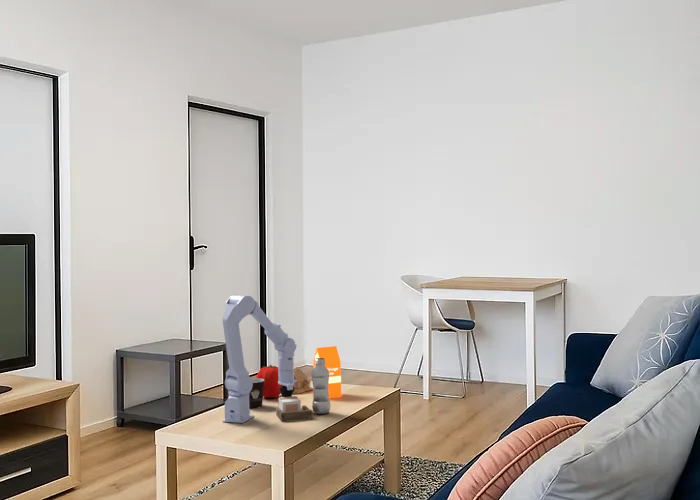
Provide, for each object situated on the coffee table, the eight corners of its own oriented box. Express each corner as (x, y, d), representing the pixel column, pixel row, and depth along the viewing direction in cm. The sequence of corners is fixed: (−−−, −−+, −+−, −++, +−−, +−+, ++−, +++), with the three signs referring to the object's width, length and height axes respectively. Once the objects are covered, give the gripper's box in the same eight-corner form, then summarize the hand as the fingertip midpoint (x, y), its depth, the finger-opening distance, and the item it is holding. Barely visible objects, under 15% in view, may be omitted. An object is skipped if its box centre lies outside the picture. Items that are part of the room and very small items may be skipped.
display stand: (312, 418, 255) (311, 410, 254) (281, 421, 251) (281, 413, 251) (305, 412, 264) (305, 404, 264) (276, 414, 261) (276, 406, 261)
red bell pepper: (281, 393, 298) (280, 361, 297) (287, 399, 286) (287, 366, 286) (253, 395, 294) (252, 363, 294) (259, 402, 282) (258, 368, 282)
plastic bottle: (328, 416, 258) (327, 360, 258) (310, 415, 259) (309, 360, 259) (332, 411, 264) (331, 357, 264) (314, 411, 266) (313, 357, 265)
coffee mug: (267, 404, 279) (266, 378, 279) (262, 409, 270) (261, 382, 270) (237, 403, 280) (237, 378, 280) (232, 409, 271) (231, 382, 271)
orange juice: (313, 395, 292) (312, 346, 291) (333, 393, 295) (332, 344, 295) (321, 399, 285) (320, 349, 284) (341, 397, 288) (340, 347, 288)
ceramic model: (291, 387, 310) (291, 363, 310) (315, 388, 307) (315, 365, 306) (277, 394, 297) (277, 369, 297) (302, 395, 293) (302, 371, 293)
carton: (300, 414, 261) (300, 400, 261) (283, 416, 259) (282, 401, 259) (296, 409, 269) (295, 395, 269) (278, 411, 267) (278, 397, 267)
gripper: (300, 371, 264) (301, 408, 264) (292, 365, 278) (293, 400, 278) (281, 373, 262) (282, 410, 262) (274, 366, 275) (275, 402, 276)
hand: (286, 405), depth 270 cm, fingers closed
